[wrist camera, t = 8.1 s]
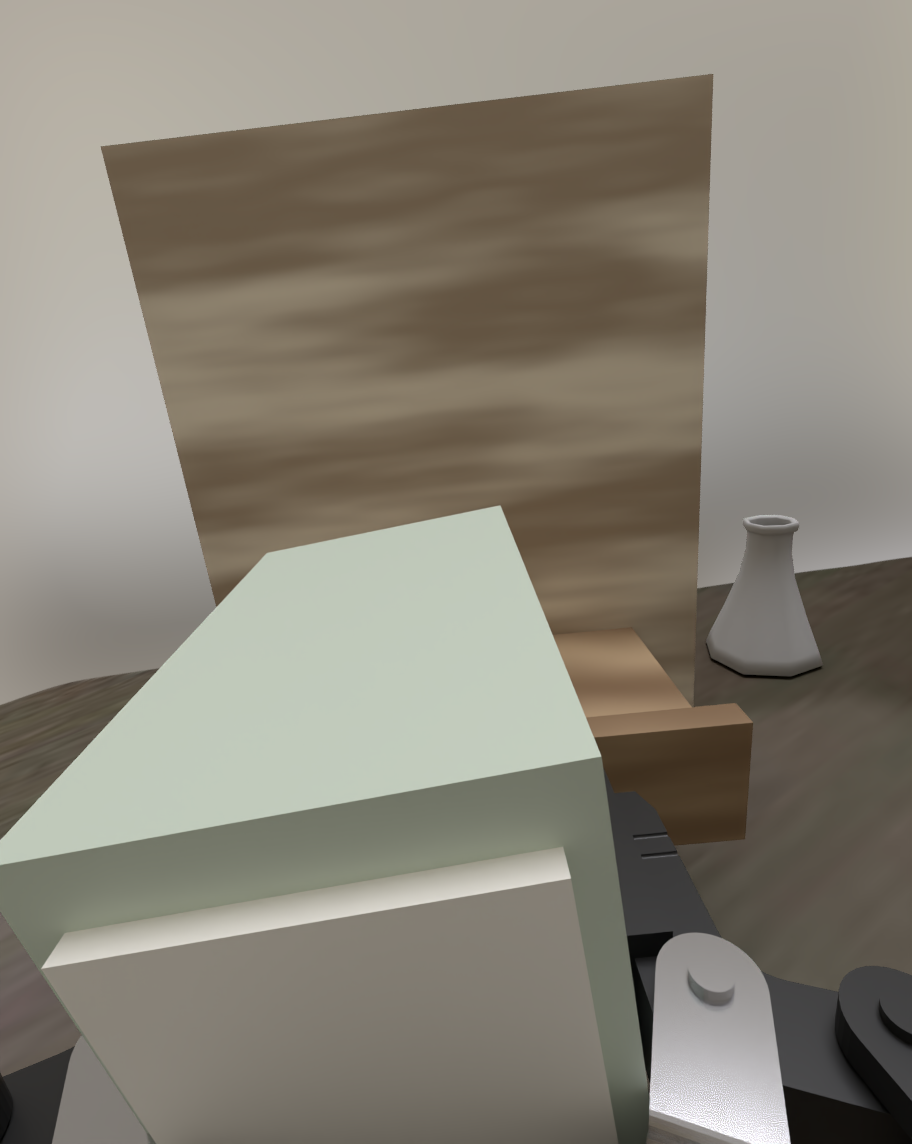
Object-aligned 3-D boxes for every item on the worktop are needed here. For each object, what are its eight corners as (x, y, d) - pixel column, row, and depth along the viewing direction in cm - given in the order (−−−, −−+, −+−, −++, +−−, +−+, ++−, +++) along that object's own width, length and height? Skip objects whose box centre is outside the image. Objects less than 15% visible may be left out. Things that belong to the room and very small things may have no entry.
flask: (736, 686, 38) (745, 540, 34) (689, 639, 44) (692, 514, 41) (845, 673, 38) (863, 527, 34) (780, 629, 44) (791, 503, 41)
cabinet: (710, 1507, 9) (613, 784, 4) (391, 1543, 9) (-59, 903, 4) (583, 967, 17) (500, 505, 12) (415, 995, 17) (267, 553, 12)
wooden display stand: (823, 999, 19) (998, -263, 10) (173, 1053, 19) (-260, -100, 10) (646, 708, 36) (647, 151, 27) (302, 740, 37) (185, 204, 27)
